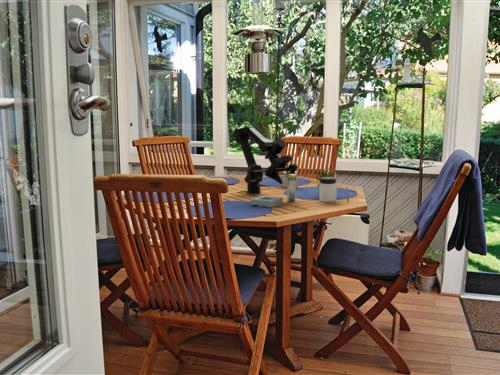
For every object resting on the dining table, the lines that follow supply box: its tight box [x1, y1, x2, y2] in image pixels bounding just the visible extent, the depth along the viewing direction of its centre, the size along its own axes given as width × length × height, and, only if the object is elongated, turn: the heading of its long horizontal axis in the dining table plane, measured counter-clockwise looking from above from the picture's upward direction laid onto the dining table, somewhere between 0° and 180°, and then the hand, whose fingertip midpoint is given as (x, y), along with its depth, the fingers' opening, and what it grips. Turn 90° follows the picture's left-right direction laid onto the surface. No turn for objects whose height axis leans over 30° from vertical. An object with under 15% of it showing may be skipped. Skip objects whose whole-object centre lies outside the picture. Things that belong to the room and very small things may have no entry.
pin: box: [286, 174, 298, 203], centre depth 245 cm, size 6×6×14 cm
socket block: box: [250, 195, 284, 208], centre depth 239 cm, size 12×12×3 cm
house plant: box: [314, 166, 338, 194], centre depth 259 cm, size 14×14×16 cm
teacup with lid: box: [279, 170, 298, 189], centre depth 290 cm, size 12×9×12 cm
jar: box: [318, 176, 338, 203], centre depth 246 cm, size 9×8×12 cm
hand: (288, 182), depth 246 cm, fingers open, 9 cm apart
